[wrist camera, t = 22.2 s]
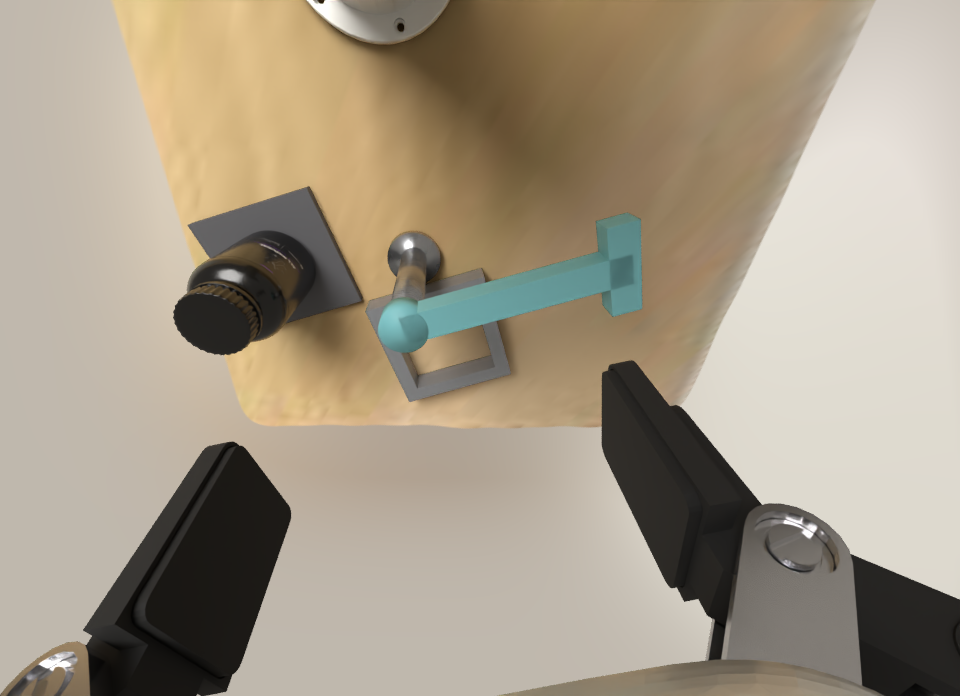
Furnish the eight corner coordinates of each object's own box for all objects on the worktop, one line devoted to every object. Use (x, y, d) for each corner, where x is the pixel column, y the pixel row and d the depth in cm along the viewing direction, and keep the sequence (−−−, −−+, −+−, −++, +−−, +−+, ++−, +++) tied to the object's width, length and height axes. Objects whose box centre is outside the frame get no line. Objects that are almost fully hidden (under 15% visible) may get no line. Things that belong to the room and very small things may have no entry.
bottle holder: (369, 300, 39) (365, 311, 37) (481, 267, 38) (484, 276, 36) (410, 388, 45) (409, 402, 43) (507, 361, 45) (511, 374, 43)
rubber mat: (192, 222, 34) (187, 225, 33) (309, 186, 33) (306, 187, 32) (262, 327, 39) (259, 331, 39) (362, 297, 39) (361, 301, 38)
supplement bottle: (314, 232, 34) (262, 284, 24) (320, 301, 38) (276, 372, 28) (231, 223, 33) (140, 272, 23) (245, 295, 37) (171, 365, 26)
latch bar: (398, 359, 28) (396, 374, 26) (365, 285, 24) (360, 296, 23) (630, 297, 27) (642, 308, 25) (627, 212, 24) (640, 219, 22)
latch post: (380, 239, 36) (355, 294, 25) (430, 224, 36) (428, 273, 25) (399, 286, 39) (385, 355, 28) (446, 273, 38) (451, 336, 27)
